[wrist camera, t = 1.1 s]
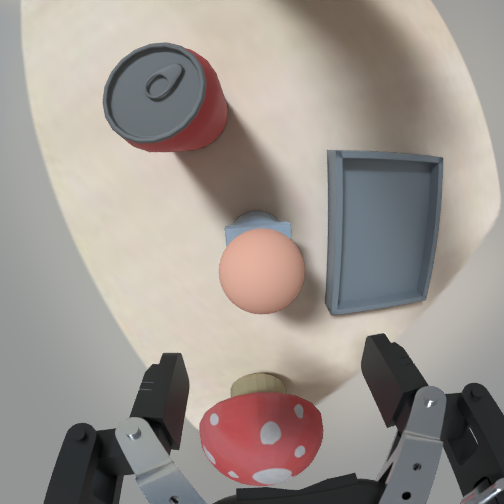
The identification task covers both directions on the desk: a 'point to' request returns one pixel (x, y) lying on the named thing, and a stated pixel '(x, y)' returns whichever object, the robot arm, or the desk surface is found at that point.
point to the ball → (261, 271)
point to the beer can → (165, 99)
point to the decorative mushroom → (261, 432)
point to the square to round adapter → (256, 225)
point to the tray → (380, 228)
